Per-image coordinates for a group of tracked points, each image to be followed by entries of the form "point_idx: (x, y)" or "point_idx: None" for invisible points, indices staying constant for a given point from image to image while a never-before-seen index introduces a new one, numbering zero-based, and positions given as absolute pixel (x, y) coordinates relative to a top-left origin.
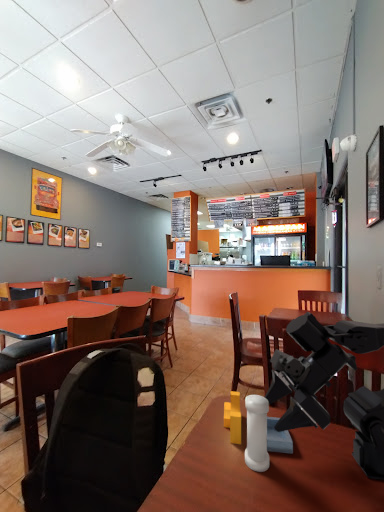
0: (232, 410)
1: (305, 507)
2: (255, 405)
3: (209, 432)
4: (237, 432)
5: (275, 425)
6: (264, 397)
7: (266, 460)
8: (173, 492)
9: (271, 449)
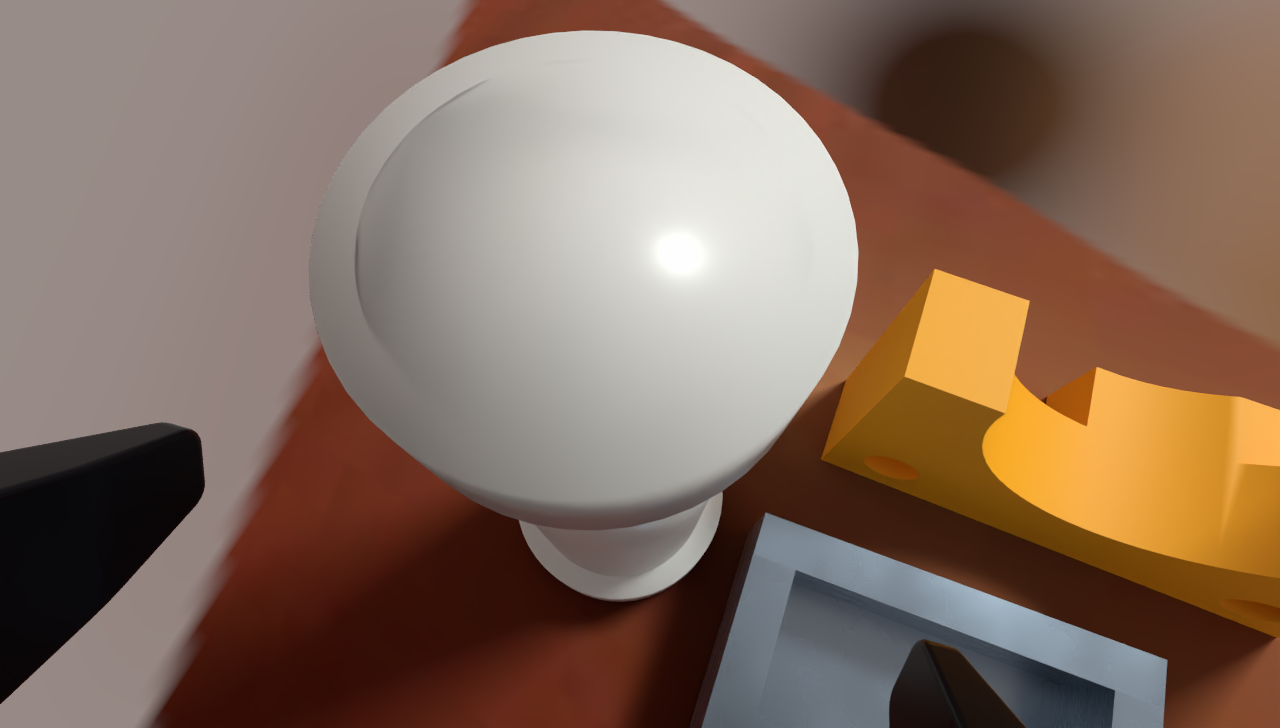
0: (1224, 481)
1: (183, 641)
2: (425, 128)
3: (976, 266)
4: (857, 400)
5: (140, 432)
6: (1014, 719)
7: (542, 539)
8: (542, 3)
9: (700, 696)
